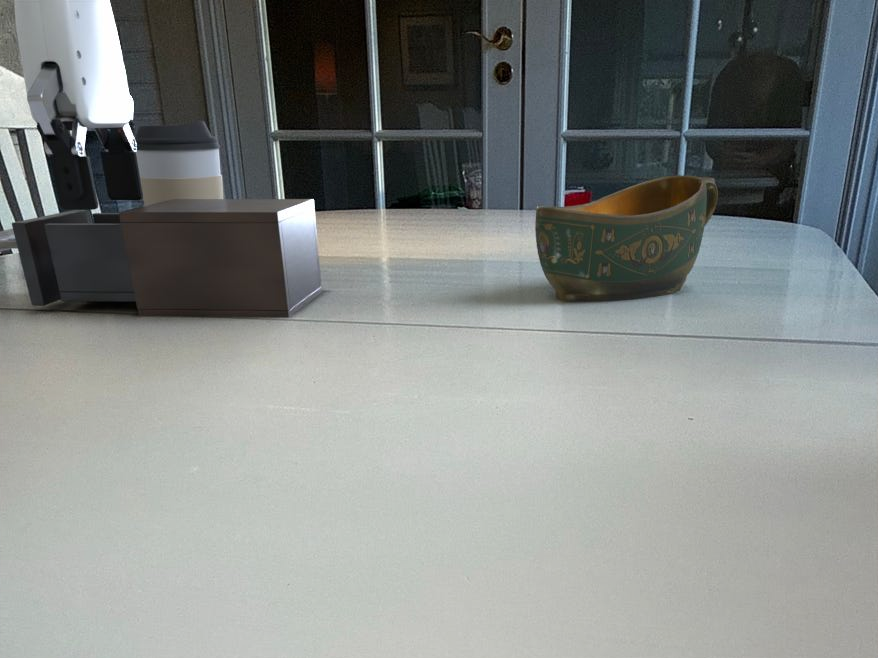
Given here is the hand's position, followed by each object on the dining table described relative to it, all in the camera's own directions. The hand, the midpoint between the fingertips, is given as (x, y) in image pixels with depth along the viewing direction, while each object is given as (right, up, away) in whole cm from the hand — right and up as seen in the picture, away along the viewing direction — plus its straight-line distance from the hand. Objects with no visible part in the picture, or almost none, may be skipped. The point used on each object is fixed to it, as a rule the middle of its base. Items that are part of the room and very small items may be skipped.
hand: (104, 204), depth 81 cm
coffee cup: (+2, +1, +19) cm, 19 cm away
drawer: (-2, -7, +4) cm, 8 cm away
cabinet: (+11, -8, +4) cm, 14 cm away
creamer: (+48, -5, +8) cm, 49 cm away
